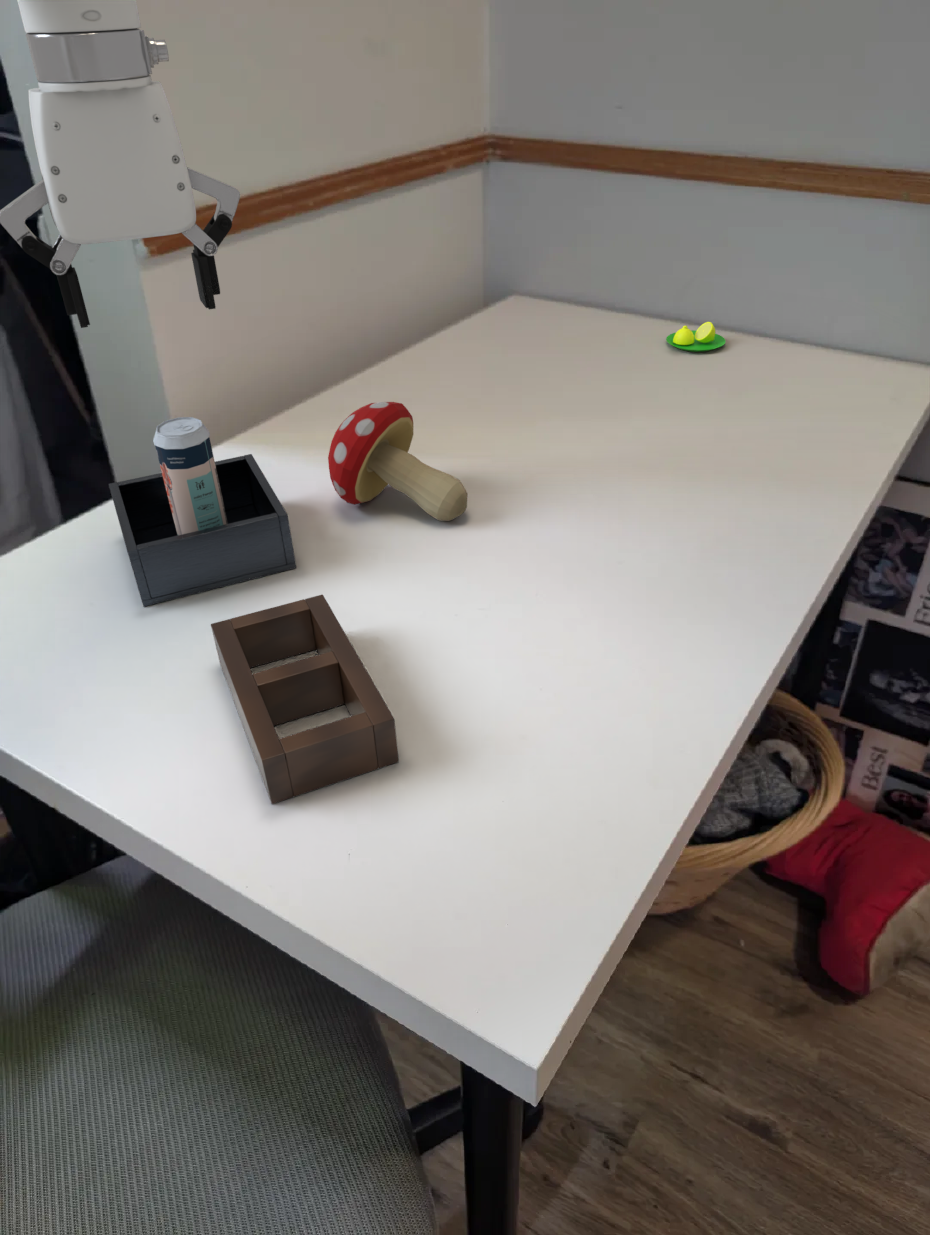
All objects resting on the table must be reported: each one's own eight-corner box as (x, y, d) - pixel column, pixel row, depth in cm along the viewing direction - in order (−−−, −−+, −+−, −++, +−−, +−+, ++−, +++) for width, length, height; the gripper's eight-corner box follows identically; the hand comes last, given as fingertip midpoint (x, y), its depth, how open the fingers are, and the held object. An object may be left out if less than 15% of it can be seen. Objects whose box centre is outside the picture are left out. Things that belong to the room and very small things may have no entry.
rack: (271, 804, 60) (261, 760, 58) (220, 664, 72) (210, 623, 70) (399, 762, 63) (394, 718, 60) (328, 634, 75) (322, 593, 73)
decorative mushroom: (506, 465, 93) (387, 392, 95) (478, 452, 82) (344, 370, 85) (451, 559, 95) (336, 485, 98) (416, 559, 84) (288, 475, 87)
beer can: (198, 529, 89) (171, 412, 82) (242, 536, 87) (218, 417, 80) (170, 555, 85) (139, 434, 78) (215, 562, 84) (187, 440, 77)
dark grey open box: (143, 607, 79) (127, 551, 76) (123, 535, 89) (108, 483, 86) (296, 568, 83) (287, 514, 80) (260, 504, 94) (251, 453, 90)
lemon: (707, 332, 131) (710, 312, 129) (735, 350, 125) (738, 329, 123) (655, 339, 129) (657, 318, 128) (681, 357, 123) (683, 336, 121)
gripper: (207, 53, 69) (244, 287, 79) (-45, 67, 63) (29, 317, 73) (228, 58, 63) (265, 310, 73) (-47, 74, 58) (34, 344, 68)
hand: (147, 313), depth 73 cm, fingers open, 9 cm apart
